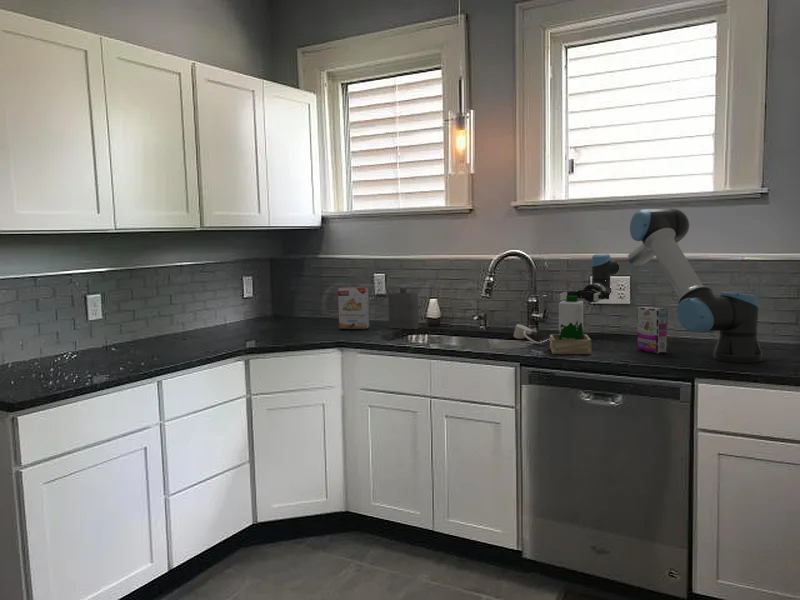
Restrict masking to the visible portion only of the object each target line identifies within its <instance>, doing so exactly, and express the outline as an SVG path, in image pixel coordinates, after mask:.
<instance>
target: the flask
mask: <svg viewBox="0 0 800 600" xmlns="http://www.w3.org/2000/svg"><path fill="white" fill-rule="evenodd" d="M418 294H419V293H418V292H413V291H412V292H408V288H407V287H400V288H399V291H398V292H397V291H395V292H388V293H387V299H388V328H389V327H390V328H404V329H403V330H411V329H415V330H418V329H419V295H418ZM390 328H389V329H390Z"/></svg>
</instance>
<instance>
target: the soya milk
mask: <svg viewBox="0 0 800 600" xmlns="http://www.w3.org/2000/svg"><path fill="white" fill-rule="evenodd" d="M558 334H559V340H583V334H584V301H583V300H578V298H577V296H567V299H566V300H561V301H560V302H558Z"/></svg>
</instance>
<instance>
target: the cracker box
mask: <svg viewBox="0 0 800 600" xmlns="http://www.w3.org/2000/svg"><path fill="white" fill-rule="evenodd" d="M337 295H338V296H337V297H338V299H337V301H338V325H339V328H368V327H369V328H370V312H369V311H370V308H369V287H368V286H362V287H361V286H360V287H358V286H350V287H349V286H347V287H345V286H344V287H343V286H340V287H339V288H338V290H337ZM339 328H338V329H339Z"/></svg>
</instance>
